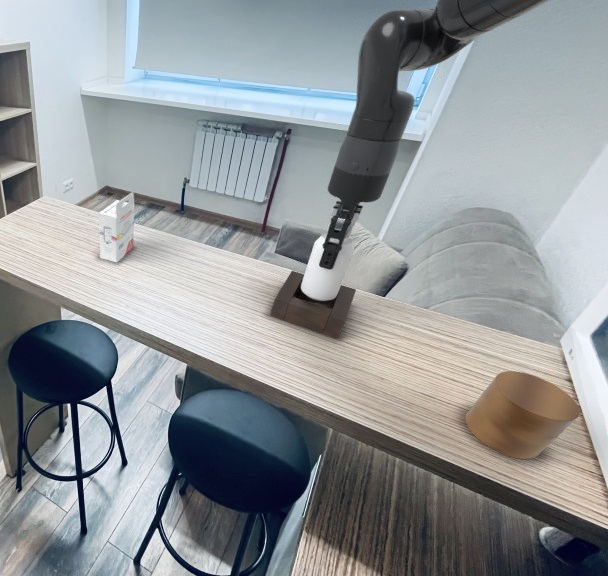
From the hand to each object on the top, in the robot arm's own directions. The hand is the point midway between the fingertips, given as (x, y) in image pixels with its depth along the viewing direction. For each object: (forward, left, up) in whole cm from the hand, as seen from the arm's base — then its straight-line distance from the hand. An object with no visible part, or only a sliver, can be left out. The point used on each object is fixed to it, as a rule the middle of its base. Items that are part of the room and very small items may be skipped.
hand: (329, 258), depth 72 cm
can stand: (0, 0, -12) cm, 12 cm away
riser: (-30, +6, -12) cm, 33 cm away
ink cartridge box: (+41, +14, -12) cm, 45 cm away
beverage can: (0, 0, -8) cm, 8 cm away
